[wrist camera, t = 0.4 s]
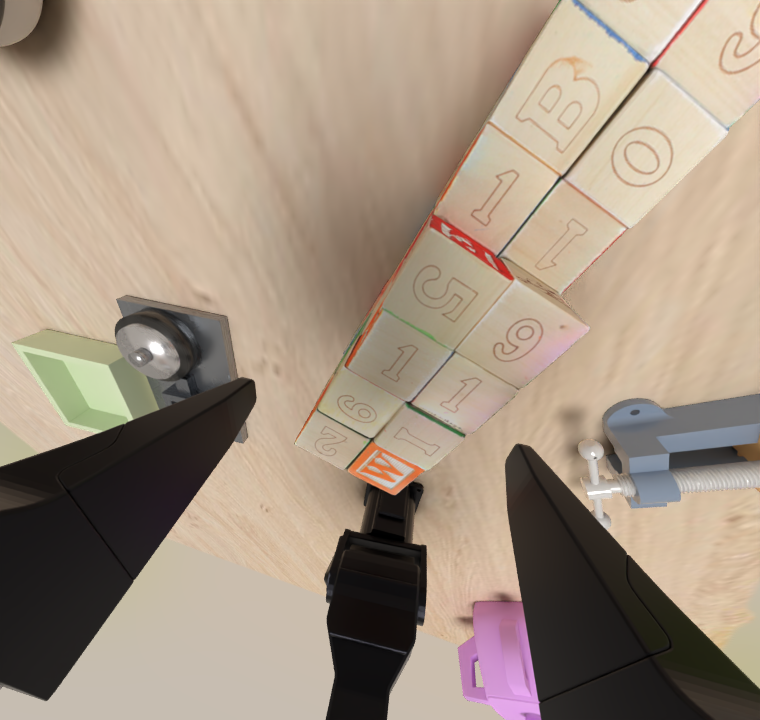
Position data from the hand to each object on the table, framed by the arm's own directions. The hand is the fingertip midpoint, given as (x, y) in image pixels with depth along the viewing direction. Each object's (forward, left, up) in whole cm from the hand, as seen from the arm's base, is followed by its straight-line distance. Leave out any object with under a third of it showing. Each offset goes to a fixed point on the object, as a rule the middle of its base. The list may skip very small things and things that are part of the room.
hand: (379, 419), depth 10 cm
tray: (-18, +32, -14) cm, 40 cm away
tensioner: (-14, +21, -14) cm, 29 cm away
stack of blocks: (+3, -3, -15) cm, 15 cm away
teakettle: (-52, -29, -15) cm, 61 cm away
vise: (-8, -25, -15) cm, 30 cm away
